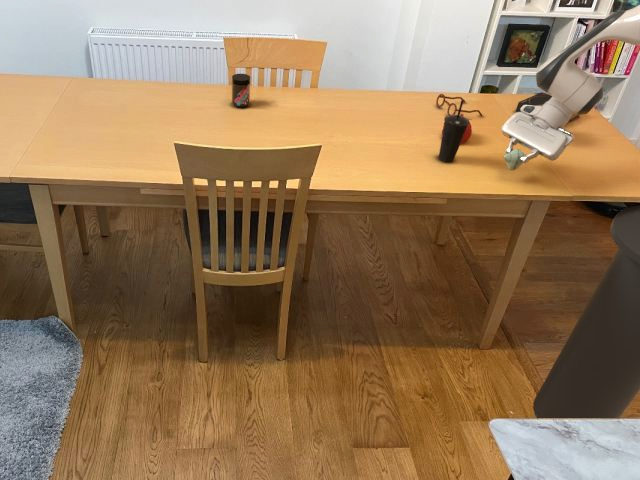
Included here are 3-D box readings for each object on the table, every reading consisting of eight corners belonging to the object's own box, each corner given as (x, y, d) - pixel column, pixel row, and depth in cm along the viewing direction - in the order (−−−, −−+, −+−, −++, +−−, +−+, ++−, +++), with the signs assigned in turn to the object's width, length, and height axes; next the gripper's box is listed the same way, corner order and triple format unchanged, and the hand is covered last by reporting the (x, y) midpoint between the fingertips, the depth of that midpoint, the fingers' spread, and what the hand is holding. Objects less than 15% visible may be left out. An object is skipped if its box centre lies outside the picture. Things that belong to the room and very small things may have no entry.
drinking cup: (460, 165, 188) (478, 106, 175) (437, 164, 188) (453, 105, 175) (454, 154, 194) (471, 95, 181) (431, 153, 194) (446, 94, 181)
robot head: (500, 172, 179) (506, 152, 175) (496, 166, 182) (502, 146, 178) (526, 173, 179) (533, 153, 175) (522, 167, 182) (529, 147, 178)
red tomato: (457, 130, 208) (464, 105, 202) (474, 143, 201) (482, 117, 195) (434, 134, 205) (440, 108, 199) (450, 147, 198) (457, 121, 192)
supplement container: (230, 107, 215) (230, 79, 208) (233, 100, 220) (233, 72, 213) (248, 109, 215) (249, 81, 208) (250, 102, 220) (251, 74, 213)
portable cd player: (556, 128, 212) (560, 118, 209) (515, 112, 222) (518, 102, 219) (579, 117, 220) (583, 107, 217) (538, 102, 230) (541, 92, 227)
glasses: (434, 104, 224) (437, 92, 221) (464, 102, 227) (468, 89, 224) (451, 119, 215) (455, 106, 211) (482, 116, 217) (486, 103, 214)
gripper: (579, 141, 170) (544, 178, 173) (524, 114, 184) (493, 148, 186) (575, 129, 166) (539, 167, 168) (519, 102, 179) (487, 138, 182)
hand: (514, 157), depth 178 cm, fingers closed on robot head, 4 cm apart
